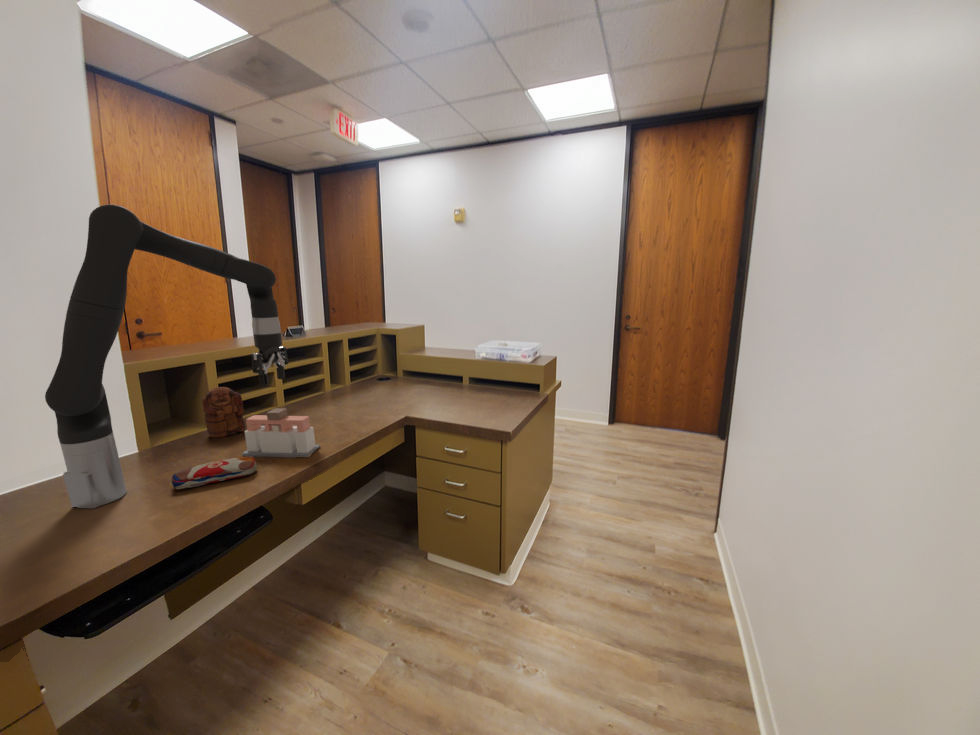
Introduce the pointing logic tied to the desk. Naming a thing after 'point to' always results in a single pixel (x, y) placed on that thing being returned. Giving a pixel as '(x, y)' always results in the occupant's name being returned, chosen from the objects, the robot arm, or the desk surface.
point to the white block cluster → (280, 442)
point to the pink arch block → (278, 421)
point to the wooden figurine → (223, 412)
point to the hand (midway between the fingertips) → (273, 382)
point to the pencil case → (213, 472)
